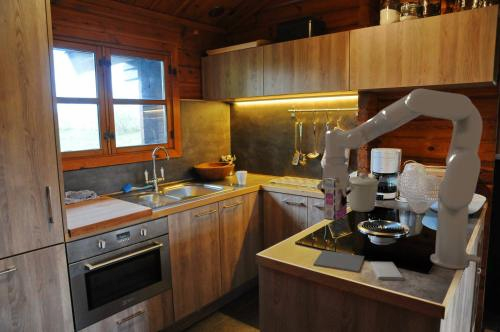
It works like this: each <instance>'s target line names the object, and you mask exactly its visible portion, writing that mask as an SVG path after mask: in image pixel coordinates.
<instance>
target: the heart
mask: <svg viewBox="0 0 500 332" xmlns="http://www.w3.org/2000/svg"><path fill="white" fill-rule="evenodd" d="M442 181H443V180H442V179H441V178H439V177H438V176H436V175H433V174H423V173H421V172H419V171H417V170H406V171H403V172H402V173H400V174H399V175H398V177H397V179H396V187H397V189H398V192H399V193H400V194H401V197H403V198H404V199H405V201H406V202H407V203H408V205H409V207H410V208H411V210H412V211H413V212H414V213H416V214H418V215H421V214H423V213H424V212H426V211H427V210H428V209H429V208H431V207H432V206H433V205H434V204H436V203H438V189H439V185H440V183H441V182H442Z"/></svg>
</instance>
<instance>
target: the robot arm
mask: <svg viewBox="0 0 500 332" xmlns="http://www.w3.org/2000/svg"><path fill="white" fill-rule="evenodd" d="M421 115H422V116H426V117H432V118H438V119H443V120H444V119H445V120H450V121H451V122H452V125H453V128H452V129H453V130H452V135H451V140H450V141H451V142H450V144H449V145H450V146H449V148H448V149H449V150H448V153H447V156H446V158H445V164H446V167H445V172H444V175H443V179H442V180H441V181H442V182H441V183H439V188H437V189H438V190H437V192H438V193H437V194H438V201H437V219H436V236H435V238H436V239H435V253H432V254H431V255H430V257H429V258H430V259H429V260H430V262H431V263H433V264H435V265H437V266H439V267H442V268H447V269H451V270H463V269H464V270H465V269H467V268H469V267H470V264H471V262H474V263H481V261H482V259H481V256H477V255H476V254H470V253H468V252H467V249H466V248H467V247H466V246H467V236H468V235H467V234H468V233H467V232H468V224H469V223H468V222H469V205H471V203H472V201H473V199H474V196H475V192H476V187H477V185H478V184H477V183H478V180H479V176H480V171H481V159H480V157H479V155H478V153H479V150H480V149H479V148H480V143H481V138H482V133H483V119H482V116H481V114H480V112H479V109H478V108H477V107H476V106H475V105H474V104H473V103H472V101H471V99H470V98H469V97H468V96H466V95H464V94H461V93H452V92H448V91H447V92H446V91H438V90H433V89H425V88H417V89H416V88H415V89H414V90H412V91H411V92H409V94H407V95H405V96H404V97H402V98H400V99H399V100H396V101H394V102H393V103H392V104H389V105H388V106H386V107H385V108H383V109H381V110H380V111H379V112H378V113H376V115H374V116H373V117H371V118H370V119H368V120H367V121H365V122H363V123H361V124H360V125H359V126H357V127H354V128H352V129H347V130H343V129H329V130H327V131H326V132H325V134H324V135H325V163H324V165H323V170H322V180H321V181H319V183H318V184H317V185H316V188H317V189H318V190H319V191H320V192H321V193H322V194H323V195H324V179H327V178H336V179H339V183H340V190H342V193H343V197H342V206H345V205H346V204H347V205H348V194H349V193H350V192H352V191H353V190H354V189H355V186H354V185H353V184H352V183H351V182H350V181H349V178H350V172H349V171H350V170H349V166H348V163H347V162H350V158H349V157H348V158H347V157H346V149H350V150H357V149H359V148H361V147H362V146H364V145H366V144H368V143H369V142H371V141H374V140H375V139H377V138H378V137H380V136H382V135H384V134H386V133H389V132H392V131H394V130H396V129H398V128H399V127H401V126H404V125H405V124H406V123H408V122H410V121H412V120H414V119H416V118H418V117H419V116H421ZM349 186H350V189H349V190H348V191H347V190H346V189H347V188H348V187H349Z"/></svg>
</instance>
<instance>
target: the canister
mask: <svg viewBox="0 0 500 332" xmlns="http://www.w3.org/2000/svg"><path fill="white" fill-rule="evenodd" d="M349 181H350V182H351V183H352V184H353V185H354V186H355V189H354V190H353V191H352V192H350V193H349V194H348V195H347V202H348V207H349V208H350V209H351V210H352V211H355V212H360V213H365V212H367V213H368V212H371V211H373V210H374V209H375V207H376V201H377V194H378V187H379V186H378V185H379V184H380V181H379V180H378V179H377V178H374V177H372V176H371V177H370V176H366V173H365V172H360V173H359V174H358V176H351V177H349ZM349 189H350V186H349V187H348V188H347V191H348V190H349Z"/></svg>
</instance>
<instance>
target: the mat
mask: <svg viewBox="0 0 500 332" xmlns="http://www.w3.org/2000/svg"><path fill="white" fill-rule="evenodd" d="M364 259H365V255H359V254H351V253H344V252H338V251H337V252H336V251H329V250H322V251H321V252H320V254H319V255H318V256H317V258H316V260H315V261H314V262H313V266H316V267H321V268H328V269H334V270H341V271H348V272H353V273H360V270H361V267H362V264H363V262H364Z"/></svg>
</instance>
